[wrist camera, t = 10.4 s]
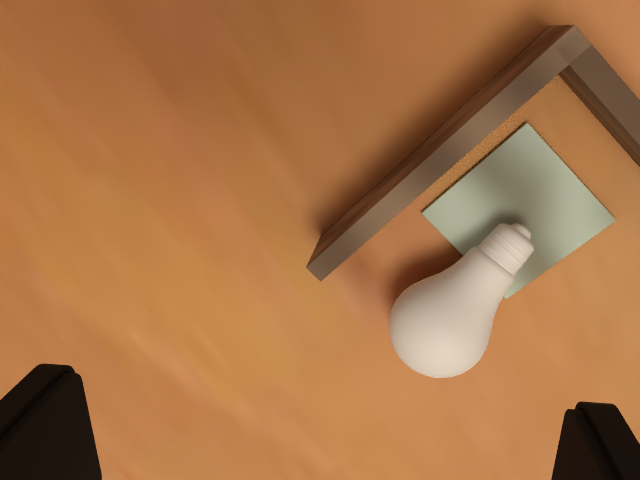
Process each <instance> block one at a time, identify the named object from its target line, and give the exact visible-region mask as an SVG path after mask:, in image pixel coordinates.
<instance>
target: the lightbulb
mask: <svg viewBox="0 0 640 480" xmlns="http://www.w3.org/2000/svg"><path fill="white" fill-rule="evenodd" d="M530 237H531V233H530V232H529V231H528V229H527V228H526V227H525V226H523V225H520V224H518V223H516V224H513V225H508V224H504V223H502V224H499V225H498V226H497V227H496V228H495V229H493V230H492V232H491V233H490V234H489V235H488V236H487V237H486V238H485V239H484V240H483V241H482V243H481V244H480V245H478V246H477V247H473V248H471V249H470V250H469V251H468V252H467V253H466V254H465V255H464V256H463V257H462V258H461V259H460V260H458V261H457V262H456V263H455V264H454V265H452V266H451V267H449V268H447V269H445V270H444V271H442V272H440V273H438V274H435V275H432V276H430V277H427V278H425V279H423V280H420V281H418V282H416V283H414V284H412V285H411V286H409V287H408V288H407V289H405V290H404V291H403V292H402V293H401V294H400V295H399V297H398V298H397V299H396V301H395V303H394V305H393V306H392V309H391V312H390V316H389V336H390V339H391V342H392V345H393V347H394V349H395V351H396V353H397V355H398V356H399V357H400V359H401V360H402V361H403V362H404V363H405V364H406V365H407V366H409V367H410V368H411V369H413V370H414V371H416V372H418V373H420V374H423V375H426V376H429V377H435V378H447V377H453V376H457V375H460V374H462V373H464V372H466V371H467V370H469V369H470V368H472V367H473V366H474V365H475V364H476V363H477V362H478V361H479V360H480V359H481V358H482V356H483V354H484V352H485V350H486V348H487V345H488V341H489V338H490V334H491V330H492V325H493V320H494V316H495V313H496V311H497V308H498V305H499V303H500V301H501V300H502V298H503V296H504V295H505V293H506V291H507V290H508V289H509V287H510V286H511V285H512V284H513V282H514V280H515V278H514V277H515V274H516V273H517V271H518V270H519V269H520V268H521V267H522V266H523V264H524V262H525V261H527V259H528V257H529V256H530V255H531V254H532V252H533V251H534V246H533V244H532V242H531V241H530Z"/></svg>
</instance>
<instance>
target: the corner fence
mask: <svg viewBox="0 0 640 480" xmlns="http://www.w3.org/2000/svg"><path fill="white" fill-rule="evenodd" d="M556 75H559V76H560V77H561V78H562V79H563V80H564V82H565V83H566V84H567V85H568V86H569V87H570V88H571V89H572V91H573V92H574V93H575V94H576V95H577V96H578V97H579V99H580V100H581V101H582V102H583V103H584V104H585V105H586V106H587V108H588V109H589V110H590V111H591V112H592V113H593V114H594V116H595V117H596V118H597V119H598V120H599V121H600V122H601V123H602V125H603V126H604V127H605V128H606V129H607V130H608V131H609V133H610V134H611V135H612V136H613V137H614V138H615V139H616V141H617V142H618V143H619V144H620V145H621V146H622V147H623V148H624V150H625V151H626V152H627V153H628V154H629V155H630V156H631V158H632V159H633V160H634V161H635V162H636V163H637V164H638V165H639V167H640V100H639V99H638V98H637V97H636V95H635V94H634V93H633V92H632V91H631V90H630V89H629V87H628V86H627V85H626V84H625V83H624V82H623V80H622V79H621V78H620V77H619V76H618V75H617V73H616V72H615V71H614V70H613V69H612V68H611V66H610V65H609V64H608V63H607V62H606V61H605V59H604V58H603V57H602V56H601V55H600V54H599V52H598V51H597V50H596V49H595V48H594V47H593V45H592V44H591V43H590V42H589V41H588V40H587V39H586V37H585V36H584V35H583V34H582V33H581V32H580V30H579V29H578V28H577V27H576V26H575V25H561V26H549V27H548V28H547V29H546V30H545V31H543V32H542V33H541V34H540V35H539V36H538V37H537V38H536V39H535V40H534V41H533V42H531V43H530V44H529V45H528V46H527V47H526V48H525V49H524V50H523V51H522V52H521V53H520V54H518V55H517V56H516V57H515V58H514V59H513V60H512V61H511V62H510V63H509V64H508V65H507V66H505V67H504V68H503V69H502V70H501V71H500V72H499V73H498V74H497V75H496V76H495V77H493V78H492V79H491V80H490V81H489V82H488V83H487V84H486V85H485V86H484V87H483V88H482V89H480V90H479V91H478V92H477V93H476V94H475V95H474V96H473V97H472V98H471V99H470V100H469V101H467V102H466V103H465V104H464V105H463V106H462V107H461V108H460V109H459V110H458V111H457V112H455V113H454V114H453V115H452V116H451V117H450V118H449V119H448V120H447V121H446V122H445V123H444V124H442V125H441V126H440V127H439V128H438V129H437V130H436V131H435V132H434V133H433V134H432V135H431V136H429V137H428V138H427V139H426V140H425V141H424V142H423V143H422V144H421V145H420V146H419V147H417V148H416V149H415V150H414V151H413V152H412V153H411V154H410V155H409V156H408V157H407V158H406V159H404V160H403V161H402V162H401V163H400V164H399V165H398V166H397V167H396V168H395V169H394V170H393V171H391V172H390V173H389V174H388V175H387V176H386V177H385V178H384V179H383V180H382V181H381V182H380V183H378V184H377V185H376V186H375V187H374V188H373V189H372V190H371V191H370V192H369V193H368V194H366V195H365V196H364V197H363V198H362V199H361V200H360V201H359V202H358V203H357V204H356V205H355V206H353V207H352V208H351V209H350V210H349V211H348V212H347V213H346V214H345V215H344V216H343V217H342V218H340V219H339V220H338V221H337V222H336V223H335V224H334V225H333V226H332V227H331V228H330V229H328V230H327V231H326V232H325V233H324V234H323V235H322V236H321V237H320V239H319V241H318V243H317V245H316V248H315V250H314V252H313V254H312V256H311V258H310V260H309V262H308V264H307V266H306V268H307V269H308V270H309V271H310V272H311V273H312V274H313V275H314V276H315V277H317V278H318V279H319V280H320V281H322V280H323V279H324V278H325V277H326V276H328V275H329V274H330V273H331V272H332V271H333V270H335V269H336V268H337V267H338V266H339V265H340V264H341V263H343V262H344V261H345V260H346V259H347V258H348V257H349V256H351V255H352V254H353V253H354V252H355V251H356V250H357V249H359V248H360V247H361V246H362V245H363V244H364V243H365V242H367V241H368V240H369V239H370V238H371V237H372V236H373V235H375V234H376V233H377V232H378V231H379V230H380V229H381V228H383V227H384V226H385V225H386V224H387V223H388V222H389V221H391V220H392V219H393V218H394V217H395V216H396V215H397V214H399V213H400V212H401V211H402V210H403V209H404V208H405V207H407V206H408V205H409V204H410V203H411V202H412V201H413V200H415V199H416V198H417V197H418V196H419V195H420V194H421V193H423V192H424V191H425V190H426V189H427V188H428V187H429V186H431V185H432V184H433V183H434V182H435V181H436V180H437V179H439V178H440V177H441V176H442V175H443V174H444V173H445V172H447V171H448V170H449V169H450V168H451V167H452V166H453V165H455V164H456V163H457V162H458V161H459V160H460V159H461V158H463V157H464V156H465V155H466V154H467V153H468V152H469V151H471V150H472V149H473V148H474V147H475V146H476V145H477V144H479V143H480V142H481V141H482V140H483V139H484V138H485V137H487V136H488V135H489V134H490V133H491V132H492V131H493V130H495V129H496V128H497V127H498V126H499V125H500V124H501V123H503V122H504V121H505V120H506V119H507V118H508V117H509V116H511V115H512V114H513V113H514V112H515V111H516V110H518V109H519V108H520V107H521V106H522V105H523V104H524V103H526V102H527V101H528V100H529V99H530V98H531V97H532V96H534V95H535V94H536V93H537V92H538V91H539V90H540V89H542V88H543V87H544V86H545V85H546V84H547V83H548V82H550V81H551V80H552V79H553V78H554V77H555V76H556ZM422 214H423V215H424V216H425V217H426V218H427V220H428V221H429V222H430V223H431V224H432V225H433V226H434V227H435V228H436V229H437V230H438V231H439V232H440V233H441V234H442V235H443V236H444V237H445V238H446V239H447V240H448V241H449V242H450V243H451V244H452V245H453V246H454V247H455V248H456V249H457V250H458V251H459V252H460V253H461V254H462V255H463V256H464V255H465V254H466V253H467V252H468V251H469V250H470V249H471V248H473V247H477V246H478V245H480V244H481V243H482V241H483V240H484V239H485V238H486V237H487V236H488V235H489V234H490V233H491V232H492V230H493V229H495V228H496V227H497V226H498V225H499V224H502V223H504V224H508V225H513V224H516V223H518V224H520V225H523V226H525V227H526V228H527V229H528V231H529V232H530V233H531V237H530V241H531V242H532V244H533V246H534V251H533V252H532V254H531V255H530V256H529V257H528V259H527V261H525V262H524V264H523V266H522V267H521V268H520V269H519V270H518V271H517V273H516V274H515V277H514V278H515V280H514V282H513V284H512V285H511V286H510V287H509V289H508V290H507V291H506V293H505V295H504V296H503V297H504V298H505V299H507V298H509V297H510V296H511V295H513V294H514V293H516V292H517V291H518V290H520V289H521V288H523V287H524V286H525V285H527V284H528V283H529V282H531V281H532V280H534V279H535V278H536V277H538V276H539V275H541V274H542V273H543V272H545V271H546V270H548V269H549V268H550V267H552V266H553V265H555V264H556V263H557V262H559V261H560V260H562V259H563V258H564V257H566V256H567V255H569V254H570V253H571V252H573V251H574V250H575V249H577V248H578V247H580V246H581V245H582V244H584V243H585V242H587V241H588V240H589V239H591V238H592V237H594V236H595V235H596V234H598V233H599V232H601V231H602V230H603V229H605V228H606V227H608V226H609V225H610V224H612V223H613V222H615V221H616V219H615V218H614V217H613V216H612V215H611V214H610V213H609V212H608V211H607V210H606V208H605V207H604V206H603V205H602V204H601V203H600V202H599V201H598V200H597V199H596V197H595V196H594V195H593V194H592V193H591V192H590V191H589V190H588V189H587V188H586V186H585V185H584V184H583V183H582V182H581V181H580V180H579V179H578V178H577V177H576V175H575V174H574V173H573V172H572V171H571V170H570V169H569V168H568V167H567V166H566V164H565V163H564V162H563V161H562V160H561V159H560V158H559V157H558V156H557V155H556V153H555V152H554V151H553V150H552V149H551V148H550V147H549V146H548V145H547V144H546V142H545V141H544V140H543V139H542V138H541V137H540V136H539V135H538V134H537V133H536V131H535V130H534V129H533V128H532V127H531V126H530V125H529V124H528V123H527V122H526V123H525V124H524V125H522V126H521V127H520V128H519V129H518V130H517V131H515V132H514V133H513V134H512V135H511V136H510V137H508V138H507V139H506V140H505V141H504V142H503V143H501V144H500V145H499V146H498V147H497V148H496V149H494V150H493V151H492V152H491V153H490V154H488V155H487V156H486V157H485V158H484V159H483V160H481V161H480V162H479V163H478V164H477V165H476V166H474V167H473V168H472V169H471V170H470V171H469V172H467V173H466V174H465V175H464V176H463V177H462V178H460V179H459V180H458V181H457V182H456V183H455V184H453V185H452V186H451V187H450V188H449V189H448V190H446V191H445V192H444V193H443V194H442V195H441V196H439V197H438V198H437V199H436V200H435V201H434V202H432V203H431V204H430V205H429V206H428V207H427V208H425V209H424V210H423V211H422Z"/></svg>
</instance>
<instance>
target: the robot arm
mask: <svg viewBox="0 0 640 480" xmlns="http://www.w3.org/2000/svg"><path fill="white" fill-rule="evenodd" d="M0 480H102V474H101V469H100V464H99V459H98V455H97V450H96V445H95V440H94V435H93V430H92V426H91V421H90V416H89V411H88V406H87V401H86V397H85V392H84V387H83V382H82V378H81V376H80V375H79V374H77V373H75V371H74V369H73V368H72V367H71V366H68V365H56V364H39V365H38V366H36V367H35V368H34V369H33V370H32V371H31V372H30V373H29V374H28V375H26V376H25V377H24V378H23V379H22V380H21V381H20V382H19V383H18V384H17V385H16V386H15V387H14V388H13V389H12V390H11V391H10V392H8V393H7V394H6V395H5V396H4V397H3V398H2V399H1V400H0ZM551 480H640V444H639V443H638V441H637V439H636V438H635V436H634V434H633V433H632V431H631V429H630V428H629V426H628V424H627V423H626V421H625V419H624V418H623V416H622V414H621V413H620V411H619V410H618V408H617V407H616V406H615V405H613V404H607V403H593V402H578V403H577V405H576V407H575V409H568V410H567V411H566V412H565V415H564V420H563V425H562V430H561V435H560V440H559V445H558V450H557V454H556V459H555V464H554V469H553V474H552V479H551Z"/></svg>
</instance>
